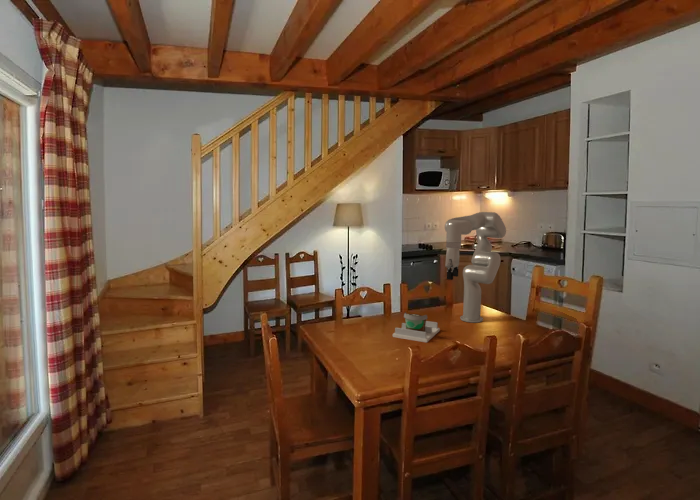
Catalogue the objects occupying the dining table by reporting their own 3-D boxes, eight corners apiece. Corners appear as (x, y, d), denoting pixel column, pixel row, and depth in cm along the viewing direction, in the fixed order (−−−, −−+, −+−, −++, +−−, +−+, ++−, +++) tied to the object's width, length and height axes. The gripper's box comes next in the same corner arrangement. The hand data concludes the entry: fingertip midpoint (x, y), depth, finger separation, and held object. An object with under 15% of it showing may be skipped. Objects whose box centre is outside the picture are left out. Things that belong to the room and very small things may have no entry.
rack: (407, 325, 246) (407, 317, 245) (439, 330, 237) (439, 322, 237) (392, 336, 227) (392, 328, 227) (426, 342, 219) (427, 333, 218)
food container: (399, 333, 228) (400, 314, 226) (404, 330, 233) (404, 311, 232) (423, 337, 222) (423, 317, 221) (427, 333, 227) (427, 314, 226)
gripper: (451, 243, 241) (450, 274, 243) (441, 246, 226) (440, 280, 228) (465, 243, 238) (463, 275, 240) (456, 247, 223) (455, 281, 225)
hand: (452, 277), depth 234 cm, fingers open, 9 cm apart
